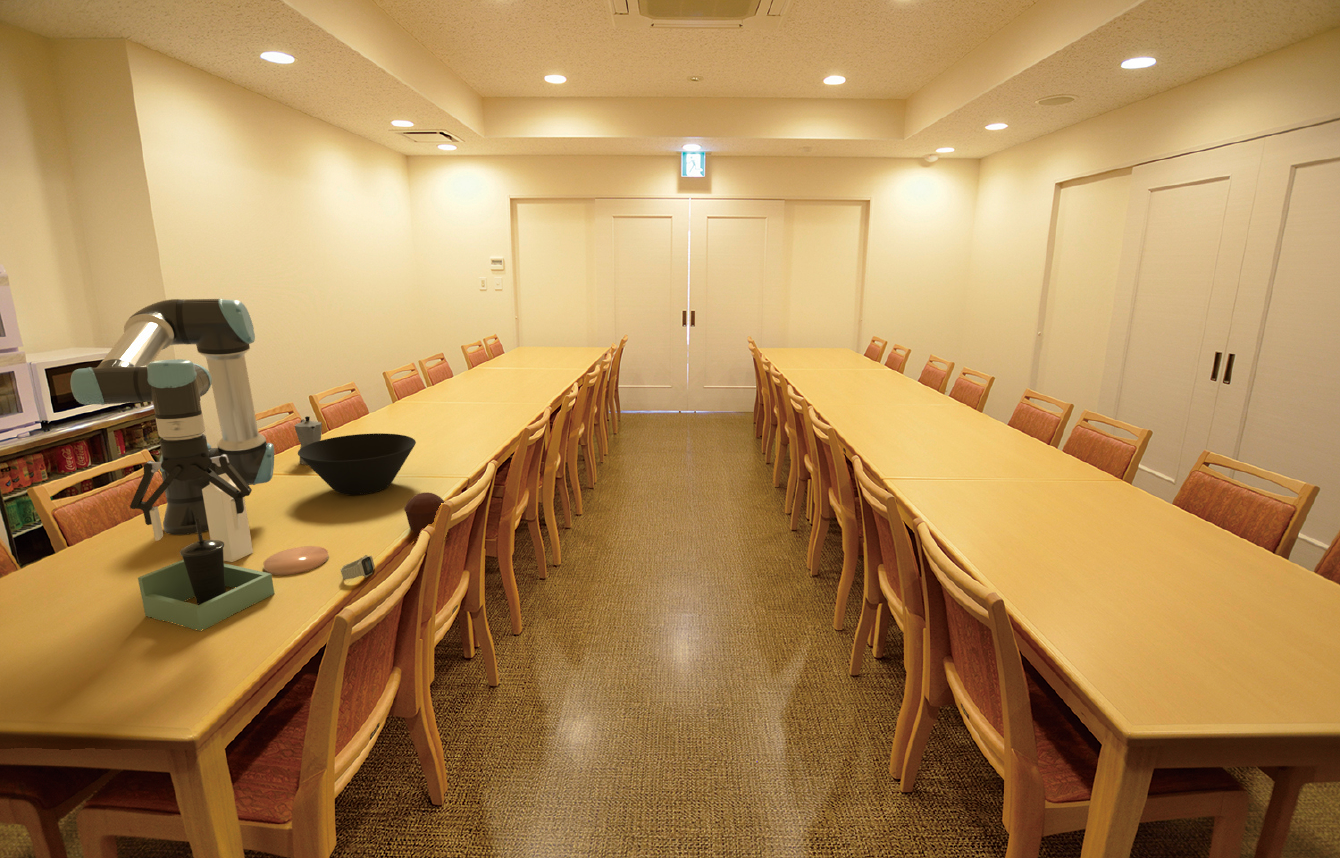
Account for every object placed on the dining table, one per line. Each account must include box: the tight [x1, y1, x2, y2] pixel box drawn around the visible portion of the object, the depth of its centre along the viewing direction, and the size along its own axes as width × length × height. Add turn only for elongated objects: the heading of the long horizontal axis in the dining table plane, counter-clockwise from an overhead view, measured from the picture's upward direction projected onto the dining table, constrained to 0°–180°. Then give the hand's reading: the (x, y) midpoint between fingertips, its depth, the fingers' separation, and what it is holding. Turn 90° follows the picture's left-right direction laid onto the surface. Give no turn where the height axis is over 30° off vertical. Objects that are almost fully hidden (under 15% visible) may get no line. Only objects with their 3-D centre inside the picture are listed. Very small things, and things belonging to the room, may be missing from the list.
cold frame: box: [137, 559, 275, 632], centre depth 134 cm, size 16×16×9 cm
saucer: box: [263, 545, 329, 576], centre depth 155 cm, size 14×14×1 cm
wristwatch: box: [340, 554, 376, 580], centre depth 149 cm, size 9×6×5 cm
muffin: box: [403, 492, 445, 534], centre depth 177 cm, size 12×11×10 cm
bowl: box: [297, 432, 417, 496], centre depth 209 cm, size 36×36×15 cm
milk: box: [202, 473, 254, 563], centre depth 156 cm, size 6×6×22 cm
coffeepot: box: [294, 416, 322, 466], centre depth 238 cm, size 15×9×18 cm, turn 44°
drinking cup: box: [179, 519, 226, 605], centre depth 133 cm, size 8×8×20 cm
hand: (199, 533), depth 131 cm, fingers open, 13 cm apart
